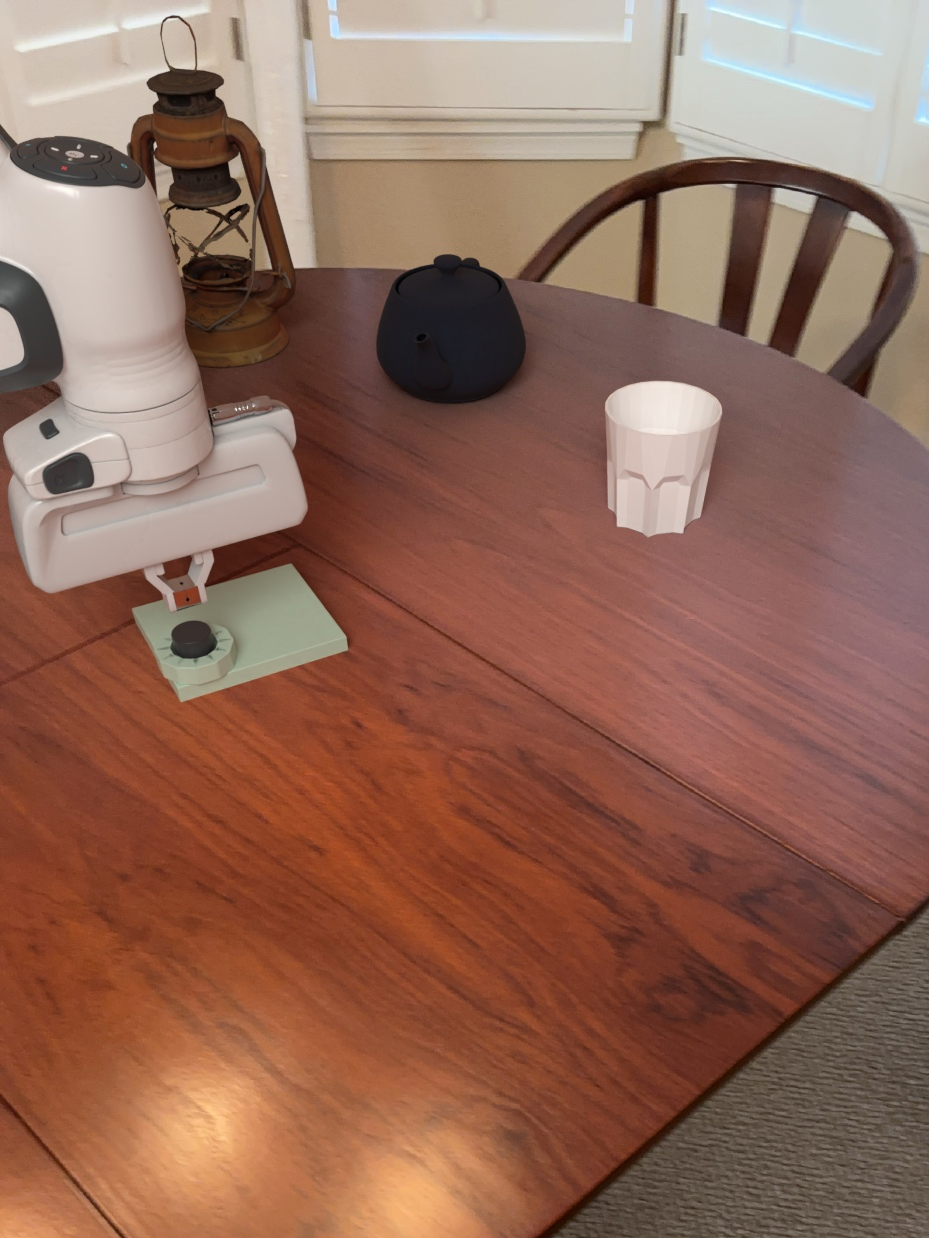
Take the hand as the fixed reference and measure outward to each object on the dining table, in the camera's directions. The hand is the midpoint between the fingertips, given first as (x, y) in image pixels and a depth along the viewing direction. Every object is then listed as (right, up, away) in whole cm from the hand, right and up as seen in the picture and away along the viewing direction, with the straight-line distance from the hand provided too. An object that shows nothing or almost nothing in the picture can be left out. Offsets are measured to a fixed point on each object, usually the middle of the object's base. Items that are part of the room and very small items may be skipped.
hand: (186, 603), depth 91 cm
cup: (+37, +14, +21) cm, 45 cm away
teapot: (+18, +33, +38) cm, 54 cm away
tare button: (0, -3, +3) cm, 4 cm away
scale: (+2, 0, +8) cm, 9 cm away
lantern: (-7, +41, +45) cm, 61 cm away
